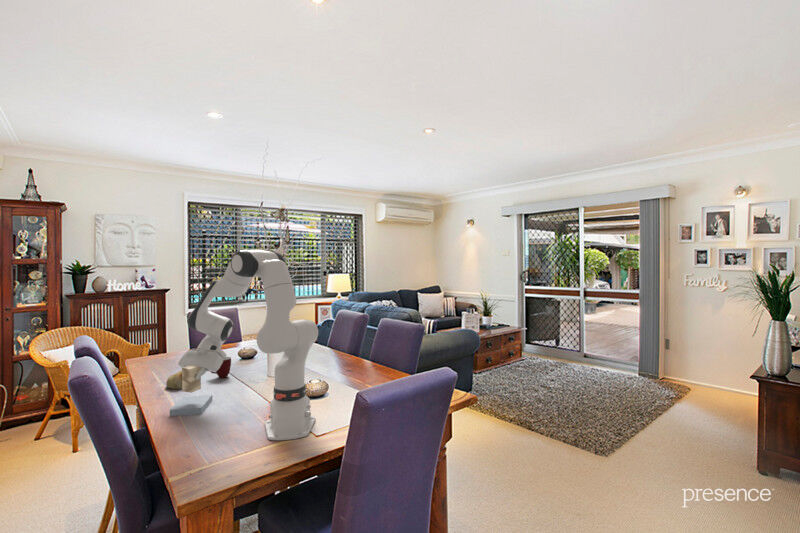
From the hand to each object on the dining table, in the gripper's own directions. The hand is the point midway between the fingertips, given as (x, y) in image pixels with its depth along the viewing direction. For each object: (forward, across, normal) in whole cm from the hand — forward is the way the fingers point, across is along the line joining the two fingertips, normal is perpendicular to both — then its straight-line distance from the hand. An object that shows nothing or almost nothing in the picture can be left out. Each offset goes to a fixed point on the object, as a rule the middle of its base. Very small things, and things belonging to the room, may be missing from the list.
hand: (190, 378), depth 170 cm
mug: (-18, -21, +37) cm, 46 cm away
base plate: (+9, 0, +10) cm, 13 cm away
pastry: (-6, -30, +25) cm, 40 cm away
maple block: (+3, 0, +4) cm, 5 cm away
